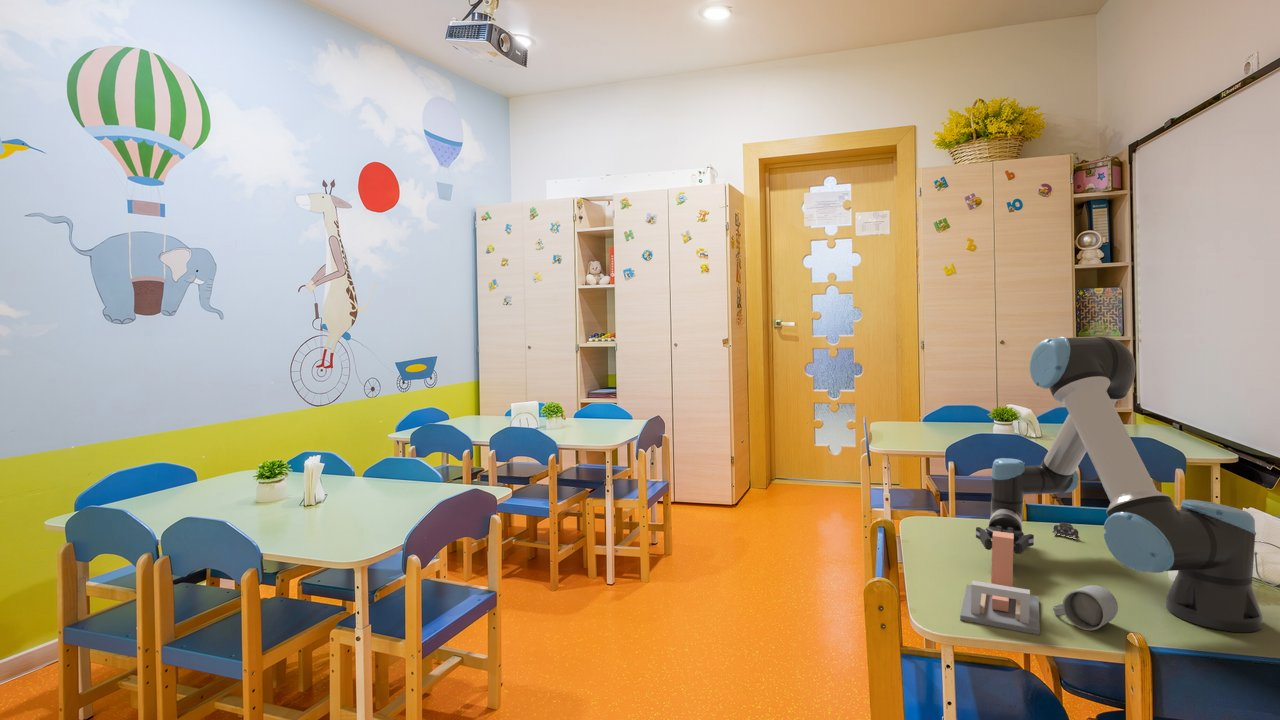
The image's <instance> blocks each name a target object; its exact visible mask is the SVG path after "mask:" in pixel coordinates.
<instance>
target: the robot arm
mask: <svg viewBox="0 0 1280 720" xmlns="http://www.w3.org/2000/svg"><path fill="white" fill-rule="evenodd" d="M1135 361H1136V360H1135V358H1134V356H1133V353H1132V352H1131V350H1130V348H1129V347H1128V346H1126V345H1125V344H1124V343H1123V342H1121V341H1120V340H1117V339H1115V338H1112V337H1107V336H1093V337H1091V336H1090V337H1089V336H1087V337H1083V336H1082V337H1065V336H1058V337H1051V338H1046V339H1043V340H1042V341H1040V342H1038V344H1037V345H1036V346H1035V348H1034V350H1033V352H1032V353H1031V356H1030V361H1029V374H1030V377H1031V380H1032V382H1033V383H1034V384H1035V385H1036V386H1037V387H1040V388H1042V389H1047V390H1048V389H1049V391H1050V393H1051V396H1052V397H1053V400H1054V401H1055V402H1056V403H1059V404H1062V405H1064V406H1065V408H1066V410H1067V412H1068V414H1067V416H1066V418H1065V420H1064V422H1063V424H1062V425H1061V427H1060V429H1059V430H1058V432H1057V435H1056V437H1055V438H1054V440H1053V442H1052V443H1051V445H1050V447H1049V449H1048V451H1047V453H1046V455H1045V456H1044V457H1043V460H1042V461H1041V464H1040V465H1025V462H1024V461H1022V460H1020V459H1017V458H1008V457H1007V458H1006V457H1000V458H995V459H994V461H993V462H992V467H991V474H990V475H991V476H990V477H991V500H990V518H989V521H988V526H987V527H985V528H982V527H980V526H979V527H978V526H976V527H975V538H976V539H978V540H979V541H980V542H981V544H982V545H983V547H984V548H985V549H986V550H988V551H990V550H991V551H992V536H993V531H999V532H1006V533H1014V546H1013V553H1014V554H1016V555H1021V554H1023V553H1024V551H1026V550H1027V549H1028V548H1029V547H1032V546H1034V541H1035V536H1034V534H1032V533H1028V534H1025V533H1024V532H1023V521H1024V520H1023V519H1024V513H1023V512H1024V510H1023V509H1024V496H1026V495H1027V496H1028V495H1050V494H1058V495H1059V494H1060V495H1061V494H1064V493H1065V494H1066V493H1071V492H1073V491H1075V490H1076V489H1077V488H1078V486H1079V483H1078V481H1079V479H1080V477H1079V474H1078V472H1077V468H1078V466H1079V465H1080V464H1081V461H1082V460H1083V458H1084V457H1085V454H1086V453H1087V455H1088V457H1089V459H1090V462H1091V463H1092V465H1093V468H1094V470H1095V472H1096V474H1097V476H1098V479H1099V480H1100V482H1101V484H1102V487H1103V489H1104V492H1105V493H1106V495H1107V498H1108V500H1109V502H1110V503H1109V505H1108V507H1107V509H1106V515H1107V518H1106V520H1105V522H1104V524H1103V529H1104V532H1103V538H1104V542H1105V544H1106V546H1107V547H1106V548H1108V550H1109V552H1110V554H1111V555H1112V556H1113V557H1114V558H1115V559H1116V561H1118V562H1119V563H1120V564H1121V565H1123V566H1125V567H1127V568H1129V569H1130V570H1133V571H1135V572H1141V573H1144V572H1145V573H1158V574H1160V573H1164V572H1172V571H1177V574H1176V576H1175V578H1174V580H1173V582H1172V584H1171V586H1170V588H1169V590H1168V593H1167V594H1166V599H1165V600H1166V601H1165V602H1166V604H1165V608H1166V610H1167V612H1169V613H1170V614H1172V615H1174V616H1175V617H1177V618H1179V619H1181V620H1183V621H1186V622H1189V623H1192V624H1195V625H1197V626H1200V627H1201V626H1202V627H1205V628H1210V629H1213V630H1218V631H1224V632H1225V631H1226V632H1233V633H1252V632H1257V631H1259V630H1261V629H1262V628H1263V614H1262V611H1261V608H1260V604H1259V602H1258V600H1257V596H1256V594H1255V590H1254V587H1253V573H1254V560H1255V558H1254V557H1255V545H1256V535H1257V532H1256V525H1255V524H1256V522H1255V521H1256V520H1255V518H1254V516H1253V515H1252V514H1251V513H1249V512H1248V511H1246V510H1244V509H1240V508H1237V507H1234V506H1230V505H1225V504H1221V503H1217V502H1211V501H1206V500H1205V501H1204V500H1198V499H1182V501H1181V504H1180V505H1179V508H1180V509H1177V508H1176V506H1175V503H1174V501H1173V500H1172V498H1171V496H1170V495H1169V494H1167V493H1164V492H1161V491H1159V490H1157V487H1156V485H1155V484H1154V481H1153V479H1152V477H1151V475H1150V473H1149V471H1148V470H1147V468H1146V466H1145V463H1144V461H1143V460H1142V458H1141V456H1140V454H1139V452H1138V450H1137V448H1136V446H1135V444H1134V442H1133V441H1132V439H1131V437H1130V434H1129V433H1128V430H1127V429H1126V427H1125V424H1124V423H1123V421H1122V419H1121V416H1120V414H1119V413H1118V411H1117V409H1116V407H1115V404H1116V403H1117V402H1118V401H1120V400H1124V399H1125V398H1126V396H1127V395H1128V393H1129V391H1130V390H1131V388H1132V386H1133V384H1134V381H1135V378H1136V362H1135Z"/></svg>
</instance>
